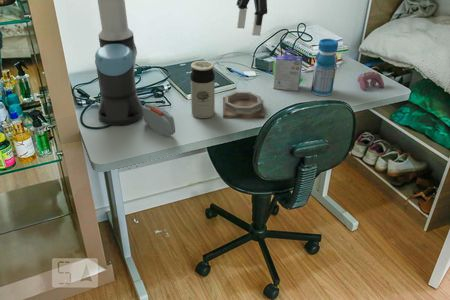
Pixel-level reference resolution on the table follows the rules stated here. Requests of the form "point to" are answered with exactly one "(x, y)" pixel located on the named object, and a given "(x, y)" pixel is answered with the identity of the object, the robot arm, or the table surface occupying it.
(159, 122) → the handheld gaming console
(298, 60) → the ink cartridge box
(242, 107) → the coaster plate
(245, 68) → the table surface
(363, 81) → the pink arch
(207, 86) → the travel mug
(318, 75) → the beverage bottle
